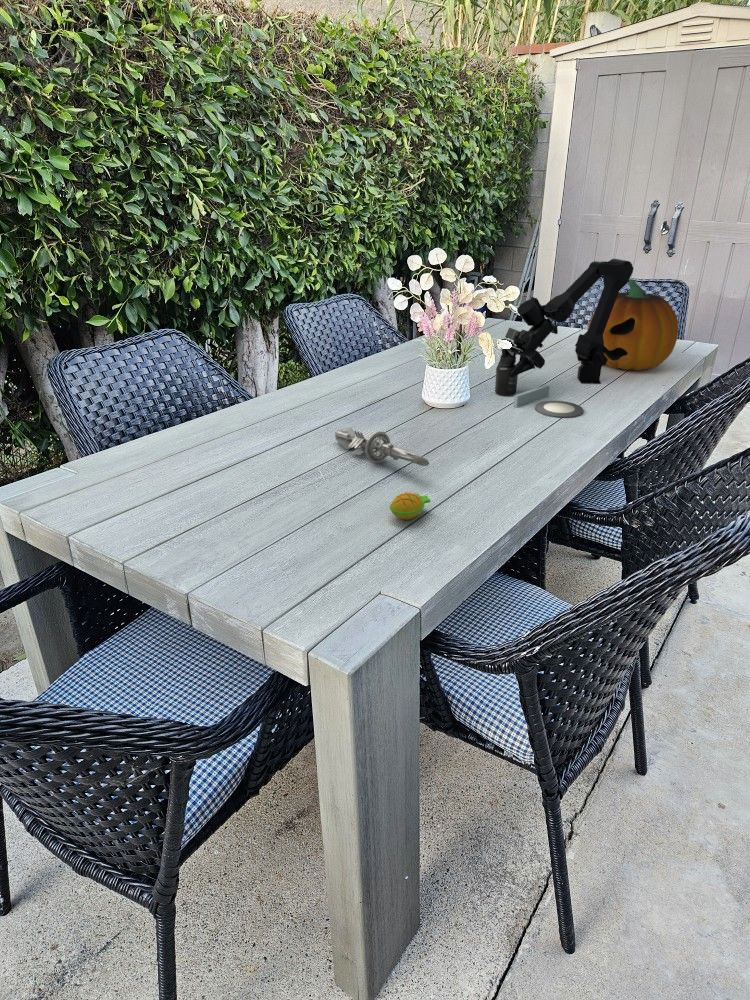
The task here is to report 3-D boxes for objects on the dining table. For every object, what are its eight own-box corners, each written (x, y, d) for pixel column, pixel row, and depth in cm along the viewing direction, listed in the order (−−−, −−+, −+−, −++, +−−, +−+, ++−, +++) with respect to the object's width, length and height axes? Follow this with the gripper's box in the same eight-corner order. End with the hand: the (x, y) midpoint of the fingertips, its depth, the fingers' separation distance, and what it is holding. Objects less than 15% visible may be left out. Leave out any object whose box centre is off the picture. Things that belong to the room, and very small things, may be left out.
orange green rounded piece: (382, 519, 142) (382, 496, 139) (408, 502, 149) (409, 480, 147) (410, 529, 138) (411, 505, 136) (435, 510, 146) (436, 488, 143)
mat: (577, 402, 210) (577, 400, 209) (588, 418, 197) (588, 416, 197) (531, 401, 210) (531, 399, 210) (539, 417, 198) (539, 415, 197)
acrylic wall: (544, 395, 216) (546, 384, 214) (548, 396, 215) (549, 385, 213) (513, 406, 206) (514, 395, 205) (516, 407, 206) (517, 396, 204)
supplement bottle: (515, 390, 220) (518, 353, 215) (517, 397, 214) (520, 359, 209) (493, 389, 221) (496, 353, 216) (494, 396, 215) (498, 359, 209)
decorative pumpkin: (566, 359, 254) (577, 276, 241) (627, 351, 265) (641, 271, 252) (623, 381, 230) (639, 289, 216) (688, 371, 241) (707, 283, 228)
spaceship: (411, 459, 150) (435, 438, 153) (318, 431, 175) (340, 413, 179) (423, 486, 155) (445, 465, 158) (330, 455, 180) (351, 437, 183)
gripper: (505, 312, 216) (473, 350, 217) (541, 324, 201) (506, 365, 202) (523, 335, 223) (492, 372, 224) (559, 348, 207) (525, 388, 208)
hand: (503, 373), depth 214 cm, fingers closed on supplement bottle, 7 cm apart
